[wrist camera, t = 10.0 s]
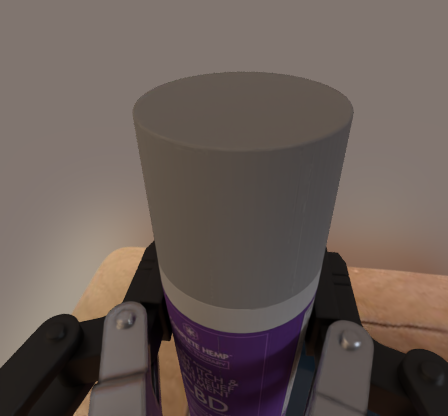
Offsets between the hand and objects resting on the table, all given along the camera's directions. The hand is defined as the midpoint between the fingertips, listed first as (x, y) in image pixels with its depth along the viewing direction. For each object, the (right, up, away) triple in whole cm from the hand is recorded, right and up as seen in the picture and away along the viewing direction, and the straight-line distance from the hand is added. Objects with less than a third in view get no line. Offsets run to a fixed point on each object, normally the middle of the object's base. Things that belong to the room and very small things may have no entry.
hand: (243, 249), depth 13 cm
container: (0, -8, +3) cm, 9 cm away
